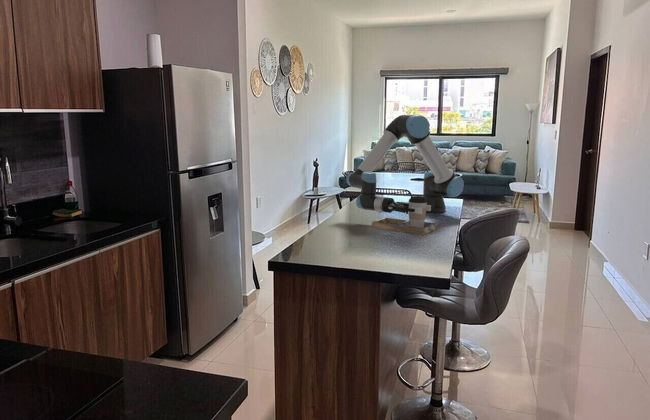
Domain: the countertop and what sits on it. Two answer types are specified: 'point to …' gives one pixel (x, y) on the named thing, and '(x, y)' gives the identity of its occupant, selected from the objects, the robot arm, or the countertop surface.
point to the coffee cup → (415, 218)
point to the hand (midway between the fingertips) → (426, 209)
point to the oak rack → (403, 226)
